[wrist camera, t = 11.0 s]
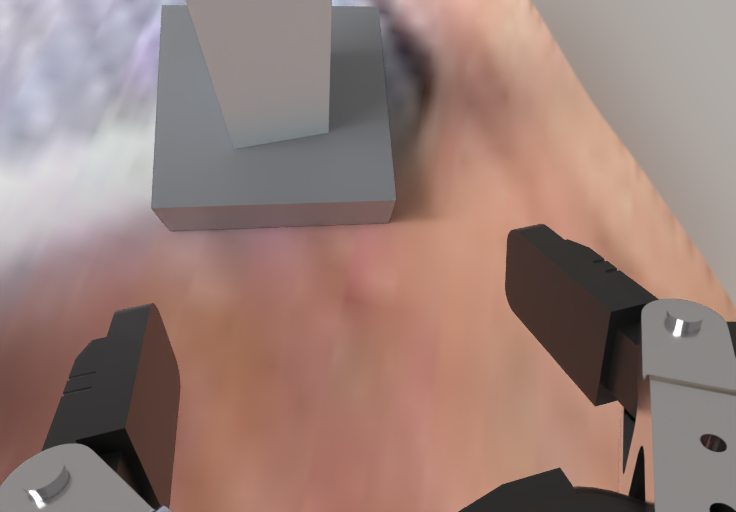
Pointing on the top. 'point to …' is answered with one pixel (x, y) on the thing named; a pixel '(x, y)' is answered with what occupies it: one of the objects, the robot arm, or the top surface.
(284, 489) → the top surface
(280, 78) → the block
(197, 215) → the block
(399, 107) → the top surface
